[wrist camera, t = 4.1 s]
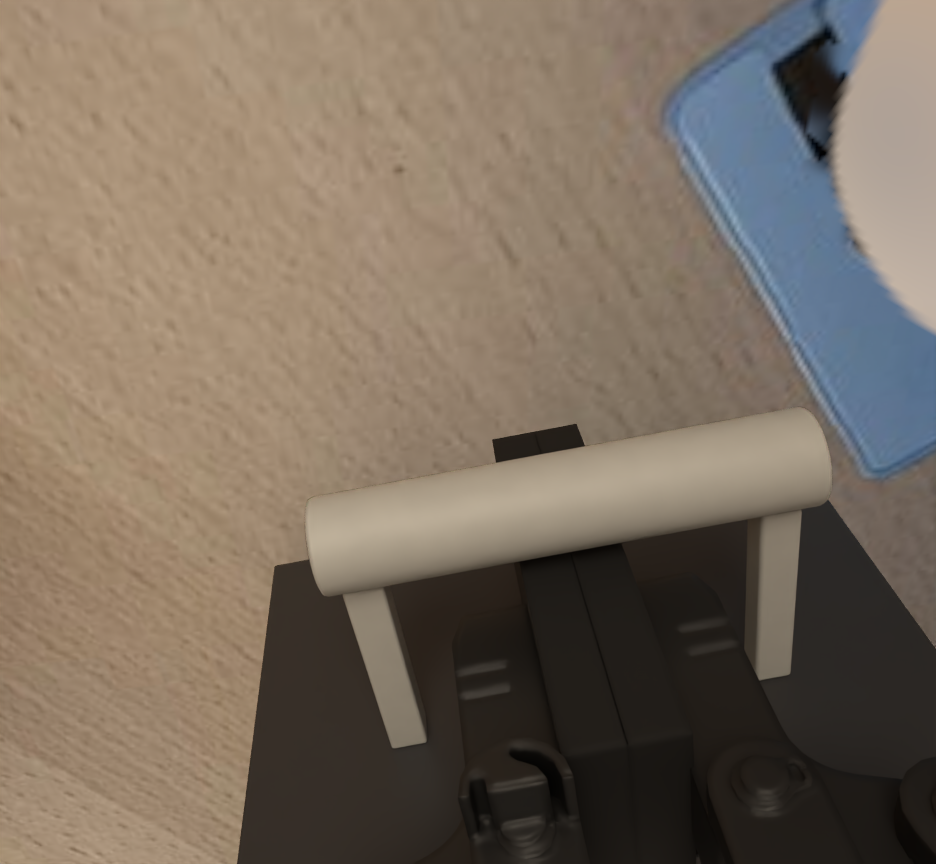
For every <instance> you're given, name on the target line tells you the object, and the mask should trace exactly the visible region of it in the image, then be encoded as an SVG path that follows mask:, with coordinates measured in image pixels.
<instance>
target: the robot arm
mask: <svg viewBox="0 0 936 864" xmlns="http://www.w3.org/2000/svg"><path fill="white" fill-rule="evenodd" d="M492 441H493V447H494V453H495V459H496V463H498V462H503V461H508V460H514V459H519V458H525V457H530V456H535V455H541V454H546V453H551V452H557V451H562V450H568V449H573V448H578V447H584V446H585V445H584V443H583V440H582V437H581V435H580V432H579V430H578V427H577V424H573V425H568V426H563V427H557V428H552V429H547V430H541V431H536V432H531V433H525V434H520V435H515V436H509V437H504V438H499V439H493V440H492ZM514 566H515V571H516V576H517V580H518V585H519V590H520V594H521V599H522V604H523V605H518V606H512V607H507V608H502V609H496V610H491V611H485V612H480V613H475V614H469V615H464V616H462V618H461V620H460V623H459V625H458V628H457V631H456V633H455V636H454V639H453V641H452V653H453V662H454V671H455V677H456V678H455V679H456V688H457V697H458V706H459V715H460V724H461V733H462V742H463V751H464V760H465V769H464V771H463V773H462V774H461V776H460V781H459V790H458V801H459V804H460V808H461V812H462V815H463V818H462V820H461V822H460V823H459V825H458V827H457V829H456V830H455V832H454V833H453V834H452V835H451V836H450V838H449V839H448V840H447V841H446V842H445V843H444V844H443V845H442V846H440V847H439V848H438V849H436V850H435V851H433V852H432V853H430V854H429V855H427V856H426V857H424V858H422V859H420V860H418V861H416V862H415V863H413V864H696V850H697V853H698V855H699V858H700V861H701V864H936V757H932V758H928V759H923V760H920V761H919V762H918V763H916V764H915V765H914V766H912V767H911V768H910V769H909V770H907V771H906V772H905V775H904V777H903V779H896V778H887V777H879V776H870V775H861V774H853V773H849V772H844V771H839V770H835V769H833V768H830V767H828V766H825V765H823V764H821V763H818V762H817V761H815V760H814V759H812V758H810V757H809V756H807V755H806V754H804V753H803V752H802V751H801V750H800V749H799V748H798V747H797V746H796V745H795V744H793V743H792V742H791V741H790V739H789V738H788V736H787V735H786V733H785V731H784V730H783V728H782V727H781V725H780V723H779V720H778V718H777V716H776V714H775V712H774V710H773V708H772V706H771V704H770V702H769V700H768V698H767V696H766V694H765V691H764V689H763V687H762V685H761V683H760V681H759V679H758V677H757V675H756V673H755V671H754V669H753V667H752V665H751V662H750V660H749V658H748V656H747V654H746V652H745V650H744V648H743V647H742V646H741V643H740V640H739V638H738V636H737V633H736V631H735V629H734V627H733V625H731V623H730V619H729V617H728V615H727V613H726V611H725V609H724V607H723V604H722V602H721V600H720V598H719V596H718V594H717V592H716V591H715V590H713V589H712V588H711V587H710V586H709V585H707V584H706V583H705V582H704V581H703V580H702V579H700V578H699V577H698V576H697V575H696V574H695V573H693V572H692V571H689V572H684V573H678V574H673V575H668V576H662V577H657V578H651V579H646V580H641V581H636V580H635V578H634V575H633V572H632V570H631V567H630V565H629V562H628V559H627V557H626V554H625V551H624V549H623V546H622V543H617V544H611V545H606V546H600V547H595V548H590V549H584V550H579V551H573V552H568V553H563V554H557V555H552V556H546V557H541V558H536V559H530V560H525V561H519V562H514Z"/></svg>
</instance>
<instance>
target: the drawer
mask: <svg viewBox="0 0 936 864" xmlns="http://www.w3.org/2000/svg"><path fill="white" fill-rule="evenodd" d="M831 489H832V464H831V458H830V453H829V449H828V445H827V442H826V439H825V436H824V433H823V431H822V429H821V427H820V425H819V423H818V421H817V419H816V418H815V417H814V415H813V414H812V413H811V412H810V411H809V410H807V409H806V408H802V407H794V408H789V409H783V410H778V411H772V412H767V413H762V414H756V415H751V416H746V417H740V418H735V419H729V420H724V421H719V422H713V423H708V424H702V425H697V426H692V427H686V428H681V429H675V430H670V431H665V432H659V433H654V434H648V435H643V436H638V437H632V438H627V439H622V440H616V441H611V442H605V443H600V444H595V445H589V446H584V447H578V448H573V449H568V450H562V451H557V452H551V453H546V454H541V455H535V456H530V457H525V458H519V459H514V460H508V461H503V462H498V463H492V464H487V465H481V466H476V467H471V468H465V469H460V470H454V471H449V472H444V473H438V474H433V475H428V476H422V477H417V478H411V479H406V480H401V481H395V482H390V483H384V484H379V485H374V486H368V487H363V488H357V489H352V490H347V491H341V492H336V493H331V494H325V495H320V496H314V497H311V498H310V499H308V501H307V503H306V508H305V535H306V544H307V550H308V556H309V560H304V561H299V562H294V563H288V564H283V565H277V566H275V569H274V576H273V584H272V592H271V600H270V608H269V616H268V624H267V632H266V640H265V648H264V656H263V663H262V671H261V679H260V687H259V695H258V703H257V711H256V719H255V727H254V735H253V742H252V750H251V758H250V766H249V774H248V782H247V790H246V798H245V806H244V814H243V822H242V829H241V837H240V845H239V853H238V861H237V864H413V863H415V862H416V861H418V860H420V859H422V858H424V857H426V856H427V855H429V854H430V853H432V852H433V851H435V850H436V849H438V848H439V847H440V846H442V845H443V844H444V843H445V842H446V841H447V840H448V839H449V838H450V836H451V835H452V834H453V833H454V832H455V830H456V829H457V827H458V825H459V823H460V822H461V820H462V818H463V815H462V812H461V808H460V804H459V801H458V790H459V781H460V776H461V774H462V773H463V771H464V769H465V760H464V751H463V742H462V733H461V724H460V715H459V706H458V697H457V688H456V679H455V678H456V677H455V671H454V662H453V653H452V641H453V639H454V636H455V633H456V631H457V628H458V625H459V623H460V620H461V618H462V616H464V615H469V614H475V613H480V612H485V611H491V610H496V609H502V608H507V607H512V606H518V605H523V604H522V599H521V594H520V590H519V585H518V580H517V576H516V571H515V566H514V562H519V561H525V560H530V559H536V558H541V557H546V556H552V555H557V554H563V553H568V552H573V551H579V550H584V549H590V548H595V547H600V546H606V545H611V544H617V543H622V546H623V549H624V551H625V554H626V557H627V559H628V562H629V565H630V567H631V570H632V572H633V575H634V578H635V580H636V581H641V580H646V579H651V578H657V577H662V576H668V575H673V574H678V573H684V572H689V571H692V572H693V573H695V574H696V575H697V576H698V577H699V578H700V579H702V580H703V581H704V582H705V583H706V584H707V585H709V586H710V587H711V588H712V589H713V590H715V591H716V592H717V594H718V596H719V598H720V600H721V602H722V604H723V607H724V609H725V611H726V613H727V615H728V617H729V619H730V623H731V625H733V627H734V629H735V631H736V633H737V636H738V638H739V640H740V643H741V646H742V647H743V648H744V650H745V652H746V654H747V656H748V658H749V660H750V662H751V665H752V667H753V669H754V671H755V673H756V675H757V677H758V679H759V681H760V683H761V685H762V687H763V689H764V691H765V694H766V696H767V698H768V700H769V702H770V704H771V706H772V708H773V710H774V712H775V714H776V716H777V718H778V720H779V723H780V725H781V727H782V728H783V730H784V731H785V733H786V735H787V736H788V738H789V739H790V741H791V742H792V743H793V744H795V745H796V746H797V747H798V748H799V749H800V750H801V751H802V752H803V753H804V754H806V755H807V756H809V757H810V758H812V759H814V760H815V761H817V762H818V763H821V764H823V765H825V766H828V767H830V768H833V769H835V770H839V771H844V772H849V773H853V774H861V775H870V776H879V777H887V778H896V779H903V777H904V775H905V772H906V771H907V770H909V769H910V768H911V767H912V766H914V765H915V764H916V763H918V762H919V761H920V760H923V759H928V758H932V757H936V649H935V647H934V646H933V645H932V643H931V642H930V641H929V639H928V638H927V636H926V635H925V634H924V632H923V631H922V629H921V628H920V627H919V625H918V624H917V622H916V621H915V620H914V618H913V617H912V616H911V614H910V613H909V611H908V610H907V609H906V607H905V606H904V604H903V603H902V602H901V600H900V599H899V597H898V596H897V595H896V593H895V592H894V591H893V589H892V588H891V586H890V585H889V584H888V582H887V581H886V579H885V578H884V577H883V575H882V574H881V573H880V571H879V570H878V568H877V567H876V566H875V564H874V563H873V561H872V560H871V559H870V557H869V556H868V554H867V553H866V552H865V550H864V549H863V548H862V546H861V545H860V543H859V542H858V541H857V539H856V538H855V536H854V535H853V534H852V532H851V531H850V530H849V528H848V527H847V525H846V524H845V523H844V521H843V520H842V518H841V517H840V516H839V514H838V513H837V511H836V510H835V509H834V507H833V506H832V505H831V503H830V502H829V500H828V498H829V496H830V493H831ZM696 864H701V861H700V858H699V855H698V853H697V850H696Z"/></svg>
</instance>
